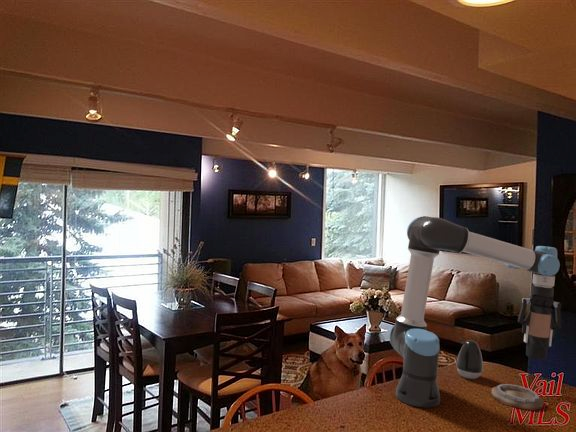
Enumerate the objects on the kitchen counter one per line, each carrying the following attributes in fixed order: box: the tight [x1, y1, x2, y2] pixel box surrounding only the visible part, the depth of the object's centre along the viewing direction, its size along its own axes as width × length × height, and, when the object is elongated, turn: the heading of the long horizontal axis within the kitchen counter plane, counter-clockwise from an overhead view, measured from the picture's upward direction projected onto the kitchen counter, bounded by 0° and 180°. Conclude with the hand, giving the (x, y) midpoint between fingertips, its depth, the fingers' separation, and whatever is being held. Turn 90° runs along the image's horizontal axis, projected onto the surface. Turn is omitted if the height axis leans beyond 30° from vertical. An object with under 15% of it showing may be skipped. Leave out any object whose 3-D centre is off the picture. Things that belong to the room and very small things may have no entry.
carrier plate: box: [490, 383, 544, 411], centre depth 169 cm, size 17×17×3 cm
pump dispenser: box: [455, 338, 484, 380], centre depth 189 cm, size 10×10×15 cm
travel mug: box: [525, 304, 553, 361], centre depth 180 cm, size 8×8×20 cm
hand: (537, 343), depth 180 cm, fingers closed on travel mug, 8 cm apart
